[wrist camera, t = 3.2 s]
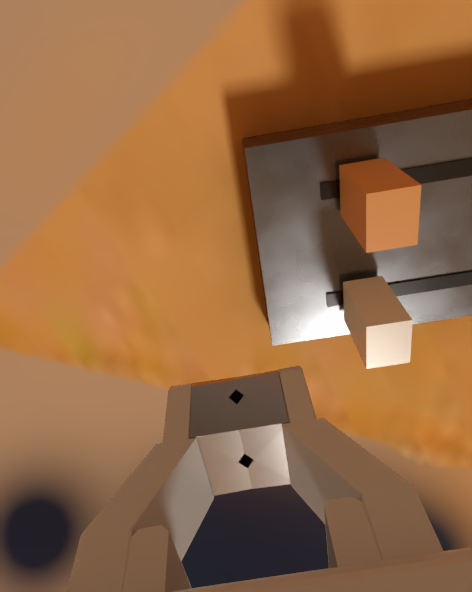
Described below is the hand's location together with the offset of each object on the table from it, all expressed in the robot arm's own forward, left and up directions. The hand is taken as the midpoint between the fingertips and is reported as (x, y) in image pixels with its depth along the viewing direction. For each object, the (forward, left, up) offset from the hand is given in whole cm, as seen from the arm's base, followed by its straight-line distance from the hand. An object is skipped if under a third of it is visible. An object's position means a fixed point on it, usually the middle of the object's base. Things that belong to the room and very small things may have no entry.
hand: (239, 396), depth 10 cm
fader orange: (-6, 0, -12) cm, 13 cm away
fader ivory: (-6, +6, -12) cm, 15 cm away
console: (-10, +3, -14) cm, 18 cm away
